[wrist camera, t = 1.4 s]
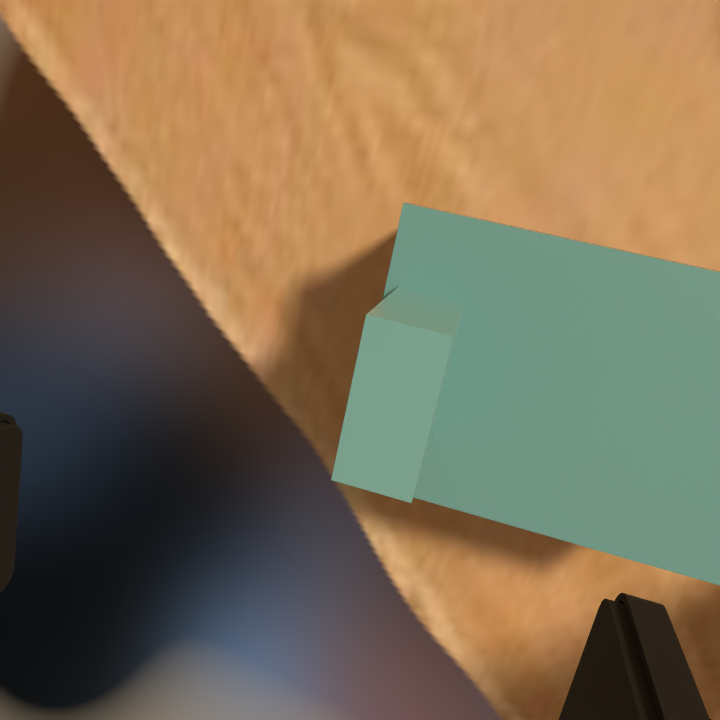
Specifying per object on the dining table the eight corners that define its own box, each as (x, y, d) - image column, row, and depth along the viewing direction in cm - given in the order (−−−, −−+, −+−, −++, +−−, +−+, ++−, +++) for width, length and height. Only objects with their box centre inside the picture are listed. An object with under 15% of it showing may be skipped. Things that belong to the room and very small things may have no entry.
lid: (833, 295, 22) (989, 343, 15) (721, 565, 25) (808, 715, 18) (409, 202, 24) (369, 206, 17) (352, 461, 27) (298, 557, 20)
